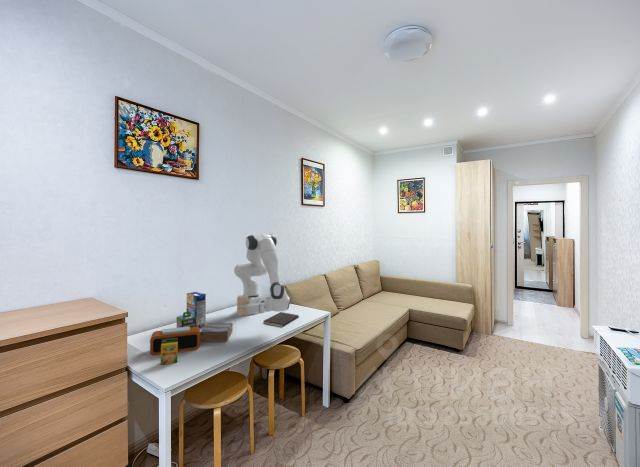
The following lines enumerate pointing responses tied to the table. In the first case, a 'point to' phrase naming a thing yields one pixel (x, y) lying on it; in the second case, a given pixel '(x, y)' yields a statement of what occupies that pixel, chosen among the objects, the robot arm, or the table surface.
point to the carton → (240, 301)
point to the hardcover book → (281, 319)
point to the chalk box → (186, 320)
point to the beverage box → (197, 307)
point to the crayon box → (169, 351)
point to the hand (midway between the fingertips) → (241, 304)
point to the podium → (216, 332)
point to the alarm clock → (185, 335)
